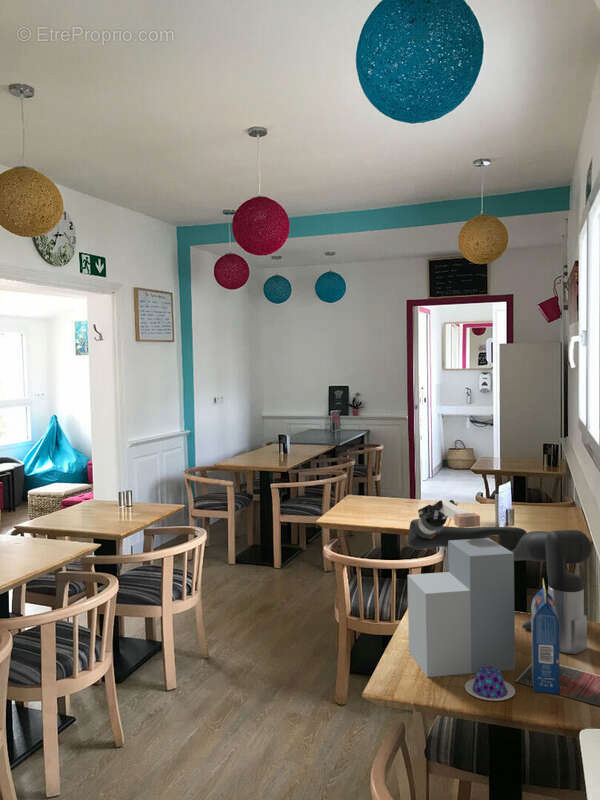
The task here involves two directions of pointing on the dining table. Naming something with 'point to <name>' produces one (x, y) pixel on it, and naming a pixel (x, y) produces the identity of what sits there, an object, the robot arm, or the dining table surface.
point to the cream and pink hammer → (459, 515)
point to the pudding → (489, 685)
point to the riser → (464, 611)
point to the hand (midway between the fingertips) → (446, 503)
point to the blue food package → (545, 643)
